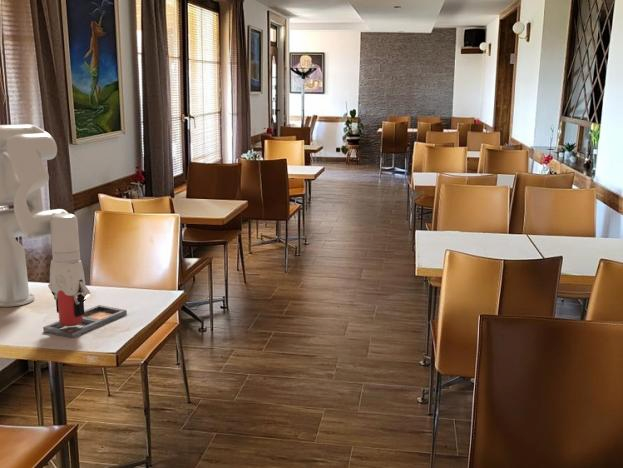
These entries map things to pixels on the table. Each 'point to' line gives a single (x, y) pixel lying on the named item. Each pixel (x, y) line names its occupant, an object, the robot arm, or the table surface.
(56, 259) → the robot arm
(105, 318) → the gray rectangular frame
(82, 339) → the table surface
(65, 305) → the beer can
